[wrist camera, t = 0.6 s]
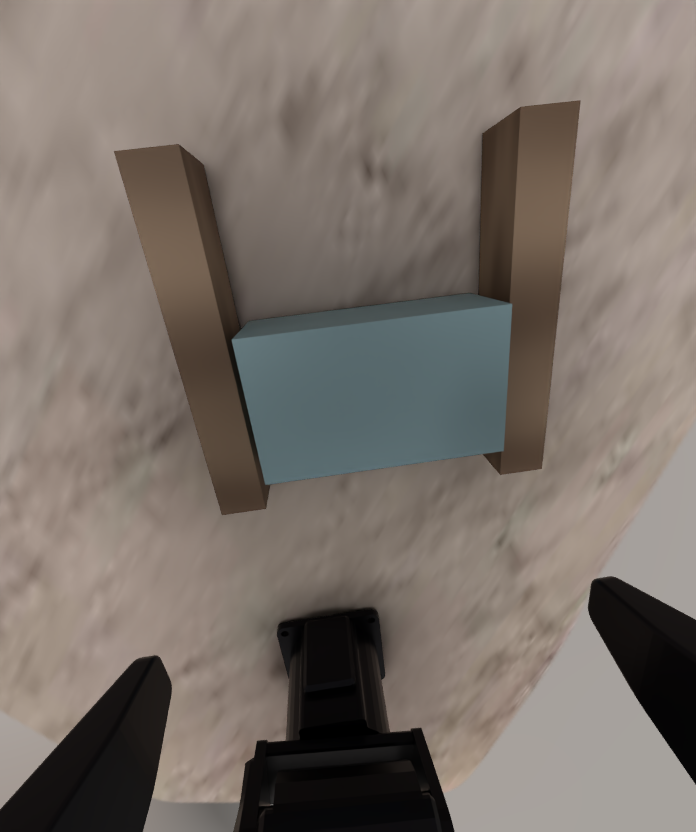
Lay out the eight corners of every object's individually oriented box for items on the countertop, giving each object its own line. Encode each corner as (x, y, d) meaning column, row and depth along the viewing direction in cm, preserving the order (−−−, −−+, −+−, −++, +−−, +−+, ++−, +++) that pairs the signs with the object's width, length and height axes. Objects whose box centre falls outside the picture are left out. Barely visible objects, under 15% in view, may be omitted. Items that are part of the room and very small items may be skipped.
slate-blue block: (468, 414, 20) (503, 450, 16) (274, 440, 19) (265, 484, 16) (469, 292, 17) (512, 303, 14) (248, 321, 17) (231, 339, 13)
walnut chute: (511, 440, 21) (541, 468, 18) (234, 479, 20) (222, 514, 18) (531, 127, 15) (580, 100, 13) (150, 170, 15) (114, 151, 12)
